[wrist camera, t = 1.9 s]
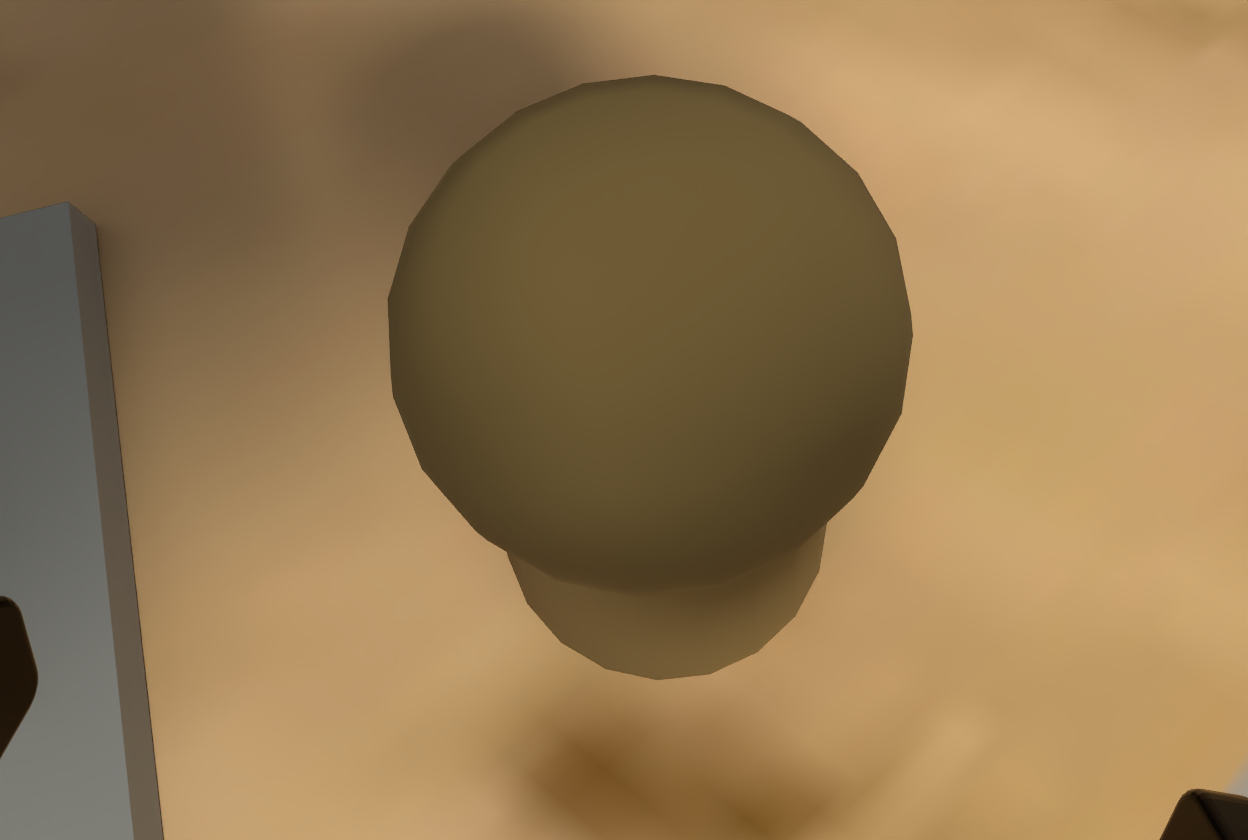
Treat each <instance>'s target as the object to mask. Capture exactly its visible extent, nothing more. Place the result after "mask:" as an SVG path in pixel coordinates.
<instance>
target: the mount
mask: <svg viewBox="0 0 1248 840" xmlns="http://www.w3.org/2000/svg"><path fill="white" fill-rule="evenodd" d="M0 596H5V597H8V598H10V599H12V600H13V601H14V602H15V603H16V604H17V605H18V606H19V608H20V610H21V612H22V616H23V619H24V623H25V626H26V630H27V634H28V637H29V641H30V644H31V648H32V651H33V655H34V659H35V662H36V666H37V670H38V686H37V691H36V695H35V697H34V700H33V702H32V705H31V707H30V709H29V710H28V712H27V714H26V715H25V717H24V719H23V721H22V722H21V724H20V726H19V728H18V729H17V731H16V733H15V735H14V736H13V738H12V740H11V742H10V743H9V745H8V747H7V748H6V750H5V752H4V754H3V755H2V757H1V759H0V840H163V833H162V824H161V815H160V806H159V797H158V788H157V778H156V769H155V760H154V751H153V742H152V733H151V724H150V715H149V706H148V697H147V688H146V679H145V670H144V661H143V652H142V643H141V634H140V624H139V615H138V606H137V597H136V588H135V579H134V570H133V561H132V552H131V543H130V534H129V525H128V516H127V507H126V498H125V489H124V479H123V470H122V461H121V452H120V443H119V434H118V425H117V416H116V407H115V398H114V389H113V380H112V371H111V362H110V353H109V344H108V335H107V325H106V316H105V307H104V298H103V289H102V280H101V271H100V262H99V253H98V244H97V235H96V226H95V224H94V223H93V222H92V221H91V220H90V219H88V218H87V217H86V216H85V215H84V214H83V213H81V212H80V211H79V210H78V209H77V208H76V207H74V206H73V205H72V204H71V203H70V202H64V203H60V204H56V205H52V206H48V207H44V208H40V209H36V210H32V211H28V212H24V213H20V214H16V215H12V216H8V217H4V218H0Z"/></svg>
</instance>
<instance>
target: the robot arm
mask: <svg viewBox="0 0 1248 840" xmlns="http://www.w3.org/2000/svg"><path fill="white" fill-rule="evenodd" d="M37 686H38V670H37V666H36V662H35V659H34V655H33V651H32V648H31V644H30V641H29V637H28V634H27V630H26V626H25V623H24V619H23V616H22V612H21V610H20V608H19V606H18V605H17V604H16V603H15V602H14V601H13V600H12V599H10V598H8V597H5V596H0V759H1V757H2V755H3V754H4V752H5V750H6V748H7V747H8V745H9V743H10V742H11V740H12V738H13V736H14V735H15V733H16V731H17V729H18V728H19V726H20V724H21V722H22V721H23V719H24V717H25V715H26V714H27V712H28V710H29V709H30V707H31V705H32V702H33V700H34V697H35V695H36V691H37ZM1160 840H1248V798H1247V797H1244V796H1241V795H1235V794H1229V793H1223V792H1217V791H1210V790H1204V789H1191V790H1189V791H1187V792H1186V793H1185V794H1183V795H1182V797H1181V798H1180V800H1179V801H1178V803H1177V805H1176V807H1175V809H1174V811H1173V813H1172V815H1171V817H1170V819H1169V821H1168V824H1167V826H1166V828H1165V830H1164V832H1163V834H1162V836H1161V838H1160Z"/></svg>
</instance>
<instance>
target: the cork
mask: <svg viewBox="0 0 1248 840" xmlns="http://www.w3.org/2000/svg"><path fill="white" fill-rule="evenodd" d="M388 317H389V341H390V365H391V381H392V391H393V398H394V400H395V403H396V405H397V408H398V410H399V413H400V415H401V418H402V420H403V423H404V425H405V428H406V430H407V433H408V435H409V438H410V440H411V443H412V445H413V448H414V450H415V453H416V455H417V458H418V460H419V463H420V465H421V468H422V470H423V471H424V472H425V473H426V474H427V475H428V477H429V478H430V479H431V480H432V481H433V482H434V484H435V485H436V486H437V487H438V488H439V489H440V490H441V492H442V493H443V494H444V495H445V496H446V497H447V498H448V500H449V501H450V502H451V503H452V504H453V505H454V507H455V508H456V509H457V510H458V511H459V512H460V513H461V515H462V516H463V517H464V518H465V519H466V520H467V522H468V523H469V524H470V525H471V526H472V527H473V528H474V530H475V531H477V532H478V533H479V534H480V535H481V536H483V537H484V538H485V539H486V540H488V541H489V542H491V543H493V544H494V545H496V546H498V547H500V548H501V549H503V550H505V551H507V554H508V558H509V560H510V563H511V565H512V567H513V570H514V572H515V575H516V577H517V580H518V582H519V584H520V587H521V589H522V592H523V594H524V596H525V599H526V601H527V604H528V605H529V606H530V607H531V608H532V609H533V611H534V612H535V613H536V614H537V615H538V616H539V618H540V619H541V620H542V621H543V622H544V623H545V624H546V626H547V627H548V628H549V629H550V630H551V631H552V633H553V634H554V635H555V636H556V637H557V638H558V639H559V641H560V642H561V643H563V644H565V645H566V646H568V647H570V648H571V649H573V650H575V651H576V652H578V653H580V654H581V655H583V656H585V657H587V658H588V659H590V660H592V661H593V662H595V663H597V664H598V665H600V666H602V667H603V668H605V669H609V670H613V671H618V672H622V673H627V674H632V675H636V676H641V677H646V678H650V679H655V680H662V679H671V678H680V677H689V676H698V675H707V674H711V673H713V672H715V671H718V670H720V669H722V668H724V667H726V666H728V665H731V664H733V663H735V662H737V661H739V660H741V659H744V658H746V657H748V656H750V655H752V654H754V653H756V652H758V651H759V650H760V649H761V648H762V647H763V646H764V645H765V644H766V643H767V642H768V641H770V640H771V639H772V638H773V637H774V636H775V635H776V634H777V633H778V632H779V631H780V630H781V629H782V628H783V627H784V626H785V625H786V624H787V623H788V622H790V621H791V620H792V619H793V618H794V617H795V616H796V614H797V612H798V610H799V608H800V606H801V604H802V602H803V600H804V598H805V597H806V595H807V593H808V591H809V589H810V587H811V585H812V583H813V581H814V579H815V578H816V576H817V574H818V572H819V568H820V562H821V556H822V550H823V543H824V537H825V531H826V525H827V522H828V521H829V520H830V519H831V518H832V517H833V516H835V515H836V514H837V513H838V512H839V511H840V510H841V509H842V508H843V507H844V506H845V505H846V504H847V503H848V502H849V501H851V500H852V499H853V498H854V496H855V495H856V494H857V493H858V492H859V490H860V489H861V488H862V487H863V486H864V484H865V482H866V480H867V478H868V476H869V474H870V472H871V470H872V468H873V467H874V465H875V463H876V461H877V459H878V457H879V455H880V453H881V451H882V449H883V448H884V446H885V444H886V442H887V440H888V438H889V436H890V434H891V432H892V430H893V429H894V427H895V425H896V423H897V421H898V419H899V417H900V415H901V413H902V406H903V399H904V392H905V386H906V379H907V372H908V365H909V358H910V351H911V344H912V338H913V331H912V320H911V312H910V306H909V301H908V296H907V291H906V286H905V281H904V276H903V271H902V266H901V261H900V256H899V251H898V246H897V241H896V238H895V236H894V234H893V232H892V231H891V229H890V227H889V226H888V224H887V222H886V220H885V219H884V217H883V215H882V214H881V212H880V210H879V208H878V207H877V205H876V203H875V202H874V200H873V198H872V196H871V195H870V193H869V191H868V190H867V188H866V186H865V184H864V183H863V181H862V179H861V178H860V176H859V174H858V173H857V172H856V171H855V170H854V169H853V168H852V167H851V166H850V165H848V164H847V163H846V162H845V161H844V160H843V159H842V158H841V157H839V156H838V155H837V154H836V153H835V152H834V151H833V150H832V149H830V148H829V147H828V146H827V145H826V144H825V143H824V142H823V141H821V140H820V139H819V138H818V137H817V136H816V135H815V134H814V133H812V132H811V131H810V130H809V129H808V128H807V127H806V126H805V125H803V124H802V123H801V122H800V121H798V120H796V119H794V118H793V117H791V116H789V115H787V114H785V113H783V112H780V111H778V110H776V109H774V108H772V107H770V106H767V105H765V104H763V103H761V102H759V101H757V100H754V99H752V98H750V97H748V96H746V95H744V94H741V93H739V92H737V91H735V90H733V89H730V88H728V87H726V86H723V85H716V84H710V83H703V82H697V81H690V80H683V79H677V78H670V77H663V76H657V75H650V76H642V77H634V78H626V79H618V80H610V81H602V82H594V83H586V84H581V85H579V86H577V87H574V88H572V89H569V90H567V91H565V92H562V93H560V94H557V95H555V96H553V97H550V98H548V99H545V100H543V101H541V102H538V103H536V104H533V105H531V106H529V107H526V108H524V109H522V110H519V111H517V112H516V113H514V114H513V115H512V116H511V117H510V118H508V119H507V120H506V121H505V122H503V123H502V124H501V125H500V126H498V127H497V128H496V129H495V130H493V131H492V132H491V133H490V134H488V135H487V136H486V137H485V138H483V139H482V140H481V141H480V142H478V143H477V144H476V145H475V146H473V147H472V148H471V149H470V150H468V151H467V152H466V153H465V154H463V155H462V156H461V157H460V158H459V159H458V160H457V161H455V162H454V163H453V164H452V165H451V166H450V168H449V169H448V171H447V172H446V174H445V175H444V177H443V178H442V180H441V181H440V182H439V184H438V185H437V187H436V188H435V190H434V191H433V193H432V194H431V196H430V197H429V199H428V200H427V202H426V203H425V204H424V206H423V207H422V209H421V210H420V212H419V213H418V215H417V216H416V218H415V219H414V221H413V222H412V223H411V225H410V226H409V229H408V232H407V235H406V239H405V242H404V246H403V249H402V252H401V256H400V259H399V263H398V266H397V269H396V273H395V276H394V280H393V283H392V286H391V290H390V293H389V297H388Z"/></svg>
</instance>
